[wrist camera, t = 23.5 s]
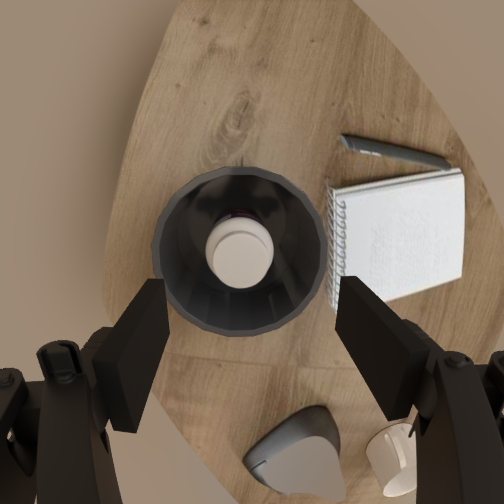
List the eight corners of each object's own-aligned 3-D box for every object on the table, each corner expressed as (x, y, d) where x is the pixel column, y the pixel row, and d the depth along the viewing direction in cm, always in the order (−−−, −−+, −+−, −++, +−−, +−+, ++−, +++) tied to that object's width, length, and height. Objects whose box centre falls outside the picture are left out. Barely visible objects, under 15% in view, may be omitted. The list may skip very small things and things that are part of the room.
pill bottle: (276, 234, 32) (295, 260, 22) (239, 272, 33) (242, 312, 23) (237, 196, 31) (239, 207, 21) (199, 235, 31) (186, 263, 22)
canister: (171, 169, 30) (148, 169, 22) (304, 169, 31) (330, 168, 22) (177, 295, 34) (160, 336, 25) (300, 293, 34) (320, 333, 26)
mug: (412, 445, 43) (433, 480, 34) (366, 464, 43) (382, 503, 34) (416, 402, 40) (443, 440, 31) (363, 424, 40) (384, 468, 31)
